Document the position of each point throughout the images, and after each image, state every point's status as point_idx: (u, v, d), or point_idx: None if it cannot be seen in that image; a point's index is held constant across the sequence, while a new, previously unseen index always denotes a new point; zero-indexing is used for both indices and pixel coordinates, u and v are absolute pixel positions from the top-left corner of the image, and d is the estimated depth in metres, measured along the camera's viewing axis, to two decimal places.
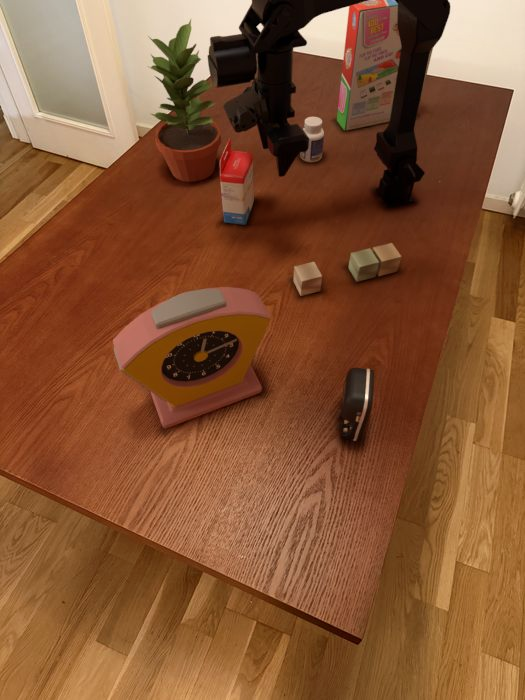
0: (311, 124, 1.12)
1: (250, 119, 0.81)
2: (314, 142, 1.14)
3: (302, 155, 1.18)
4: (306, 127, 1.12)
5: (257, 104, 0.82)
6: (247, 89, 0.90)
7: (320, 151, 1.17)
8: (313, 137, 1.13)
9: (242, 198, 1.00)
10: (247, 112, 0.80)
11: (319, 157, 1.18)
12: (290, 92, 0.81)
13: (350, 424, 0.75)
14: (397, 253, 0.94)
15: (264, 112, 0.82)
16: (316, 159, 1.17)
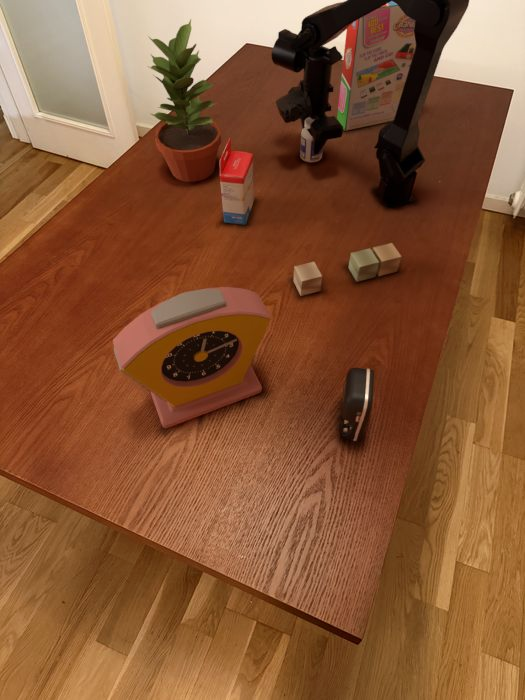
0: None
1: (298, 112, 1.05)
2: None
3: (302, 155, 1.18)
4: (306, 127, 1.12)
5: (303, 100, 1.05)
6: (292, 89, 1.14)
7: (320, 151, 1.17)
8: None
9: (242, 198, 1.00)
10: (296, 106, 1.04)
11: (319, 157, 1.18)
12: (329, 91, 1.05)
13: (350, 424, 0.75)
14: (397, 253, 0.94)
15: (308, 107, 1.06)
16: (316, 159, 1.17)
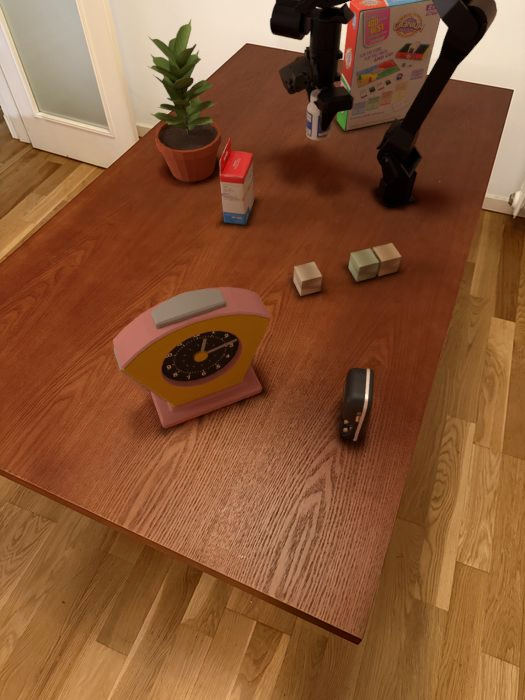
0: None
1: (303, 81, 0.94)
2: None
3: (308, 133, 1.07)
4: (312, 100, 1.01)
5: (309, 68, 0.95)
6: (297, 58, 1.03)
7: (328, 128, 1.05)
8: None
9: (242, 198, 1.00)
10: (301, 75, 0.93)
11: (327, 135, 1.07)
12: (338, 58, 0.94)
13: (350, 424, 0.75)
14: (397, 253, 0.94)
15: (315, 76, 0.95)
16: (323, 137, 1.06)
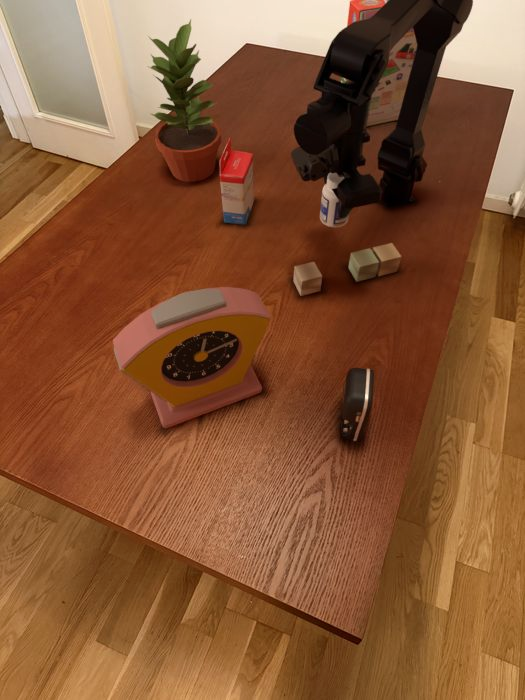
0: (336, 181, 0.84)
1: (321, 169, 0.77)
2: None
3: (323, 218, 0.90)
4: (330, 185, 0.84)
5: (328, 153, 0.78)
6: None
7: None
8: None
9: (242, 198, 1.00)
10: (319, 162, 0.76)
11: (345, 221, 0.90)
12: (363, 141, 0.77)
13: (350, 424, 0.75)
14: (397, 253, 0.94)
15: (335, 162, 0.78)
16: (340, 224, 0.89)
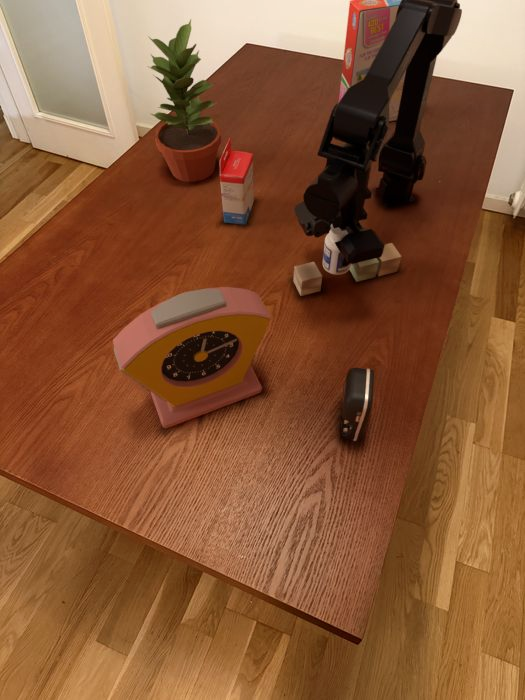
0: (339, 233, 0.85)
1: (324, 227, 0.78)
2: None
3: (325, 266, 0.91)
4: (332, 236, 0.86)
5: None
6: None
7: None
8: None
9: (242, 198, 1.00)
10: (322, 221, 0.77)
11: (347, 268, 0.91)
12: (365, 198, 0.79)
13: (350, 424, 0.75)
14: (397, 253, 0.94)
15: (338, 218, 0.80)
16: (343, 271, 0.91)
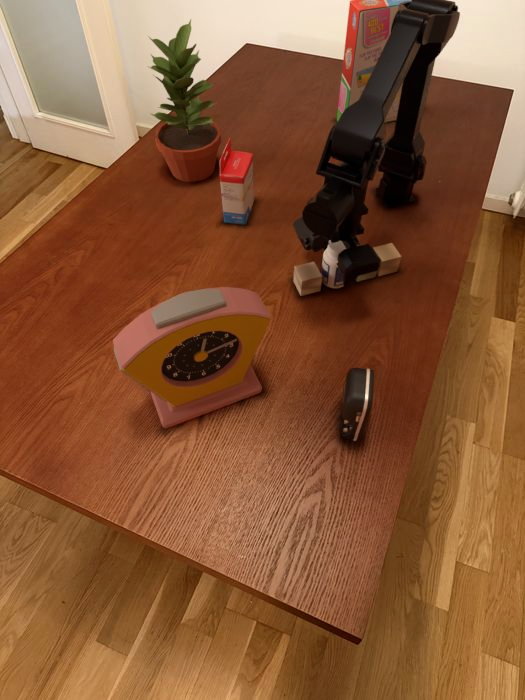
0: (336, 249, 0.88)
1: (322, 242, 0.81)
2: None
3: (324, 280, 0.94)
4: (330, 252, 0.89)
5: None
6: None
7: None
8: None
9: (242, 198, 1.00)
10: (320, 236, 0.80)
11: None
12: (362, 214, 0.81)
13: (350, 424, 0.75)
14: (397, 253, 0.94)
15: (336, 233, 0.82)
16: (341, 285, 0.94)
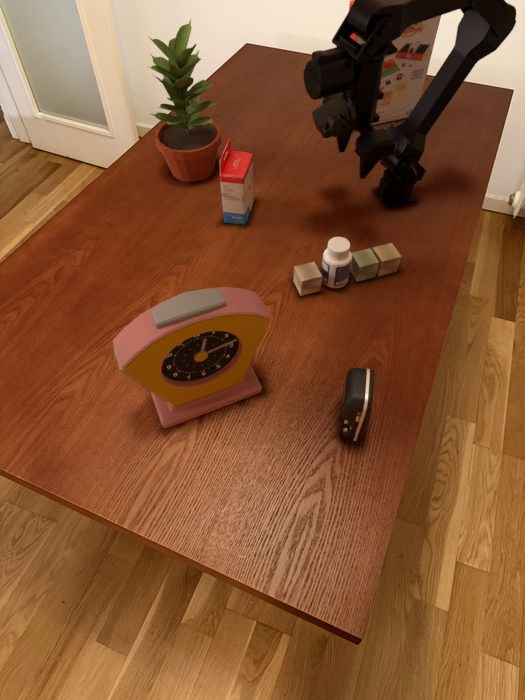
0: (336, 249, 0.88)
1: (341, 125, 0.85)
2: (340, 269, 0.90)
3: (324, 280, 0.94)
4: (330, 252, 0.89)
5: (347, 111, 0.86)
6: (328, 96, 0.94)
7: (346, 276, 0.93)
8: (338, 264, 0.89)
9: (242, 198, 1.00)
10: (340, 119, 0.84)
11: (345, 282, 0.94)
12: (378, 98, 0.85)
13: (350, 424, 0.75)
14: (397, 253, 0.94)
15: (353, 118, 0.86)
16: (341, 285, 0.94)
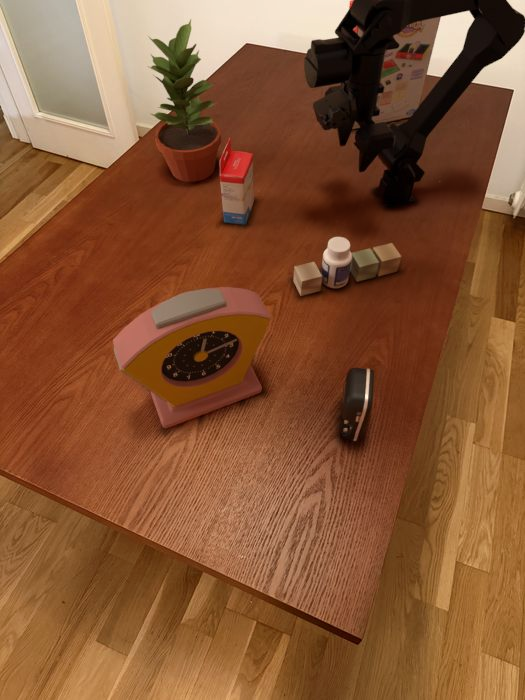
0: (336, 249, 0.88)
1: (341, 117, 0.86)
2: (340, 269, 0.90)
3: (324, 280, 0.94)
4: (330, 252, 0.89)
5: (347, 103, 0.87)
6: (330, 89, 0.95)
7: (346, 276, 0.93)
8: (338, 264, 0.89)
9: (242, 198, 1.00)
10: (340, 111, 0.85)
11: (345, 282, 0.94)
12: (378, 92, 0.86)
13: (350, 424, 0.75)
14: (397, 253, 0.94)
15: (353, 111, 0.87)
16: (341, 285, 0.94)
